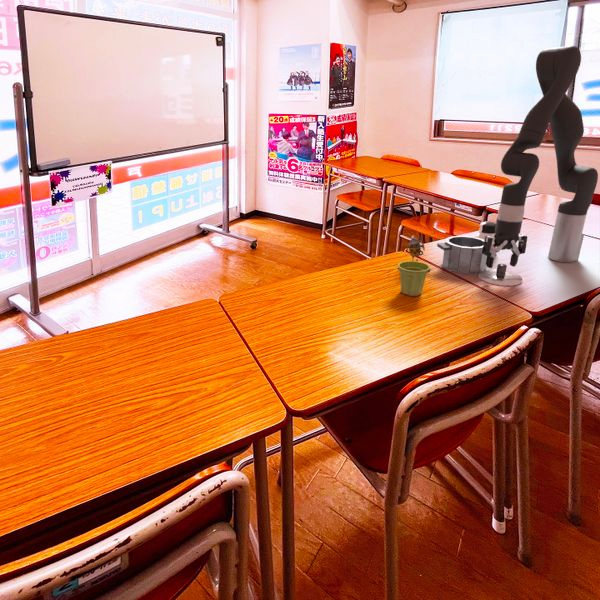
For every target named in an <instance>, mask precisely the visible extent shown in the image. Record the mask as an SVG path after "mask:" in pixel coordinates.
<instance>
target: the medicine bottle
mask: <svg viewBox="0 0 600 600" xmlns="http://www.w3.org/2000/svg"><path fill="white" fill-rule="evenodd" d="M495 227H496V222H493V221H483V222H480V224H479V230H478V233H477V235H475V236H474V237H476V238H480V239H483V240H485V237H486V236H489V237H494V236H495ZM493 243H494V241H493ZM495 248H497V246H496V247H495Z"/></svg>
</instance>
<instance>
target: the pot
mask: <svg viewBox="0 0 600 600" xmlns="http://www.w3.org/2000/svg"><path fill="white" fill-rule="evenodd" d="M444 241H445V242H439V243H438V242H437V243H436V247H438V248H439V249H441V250H442V251H443V258H442V265H441V267H443V268H444V269H446V270H447V271H451V272H453V273H457V274H458V273H459V274H466V275H468V274H469V275H470V274H471V275H473V274H479V272H481V271H484V270H486V267H487V265H486V260H487V256H486V255H485V254H483V253H482V249H483V245H484V240H483V239H480V238H476V237H475V236H471V235H469V236H467V235H454V236H452V235H450V236H448V237H446V238H445V240H444ZM492 244H493V243H492ZM491 246H492V245H491Z"/></svg>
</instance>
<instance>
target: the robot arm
mask: <svg viewBox="0 0 600 600" xmlns="http://www.w3.org/2000/svg"><path fill="white" fill-rule="evenodd" d="M581 62H582V53H581V51H580V48H579V47H577V46H575V45H565V46H559V47H556V46H555V47H550V48H545V49H543V50H541V51H540V52H539V53H538V54H537V57H536V61H535V73H536V77H537V81H538V84H539V86H540V90H541V93H542V98H541V99H540V100H538V102H537V103H536V104H535V105H533V107H532V108H531V109H530V110H529V111H528V113H527V115H526V116H525V118H524V121H523V123H522V126H520V127H521V128H520V130H519V132H518V135H517V137H516V138H515V139H514V141H513V143H512V144H511V145H510V147H509V148H508V149H507V151H506V153H505V154H504V156H502V160H501V163H500V170H501V172H502V174H504V175H507V176H511V177H518V178H520V179H519V181H518V182H514V183H513V182H512V183H506V184H505V185H504V186H503V187H502V188H503V189H502V193H501V199H500V204H499V208H498V211H497V216H496V221H495V224H496V227H495V236H494V237H489V236H486V237H485V240H484V245H483V249H482V253H483V254H485V255H486V256H487V260H486V268H489V269H493V266H494V260H495V255H497V253H499V252H500V251H504V250H510V251H511V256H510V262H509V265H510V266H511V267H517V265H518V260H519V257H520V255H523V254H525V253H526V250H527V249H526V248H527V245H528V244H527V241H528V236H527V235H525V234H523V233H521V231H522V224H523V219H524V216H525V206H526V205H525V204H526V199H527V197H528V196H527V194H528V191H529V188H530V186H531V184H532V183H533V180H534V178H535V175H536V174H537V172H538V170H539V166H540V159H539V157H538V155H537V154H535V153H532V152H525V151H527V150H533V149H536V148H539V147H540V146H541V145H542V142H543V140H544V137H545V136H546V133H547V130H548V128H549V127H550V128H549V129H550V132H551V137H552V140H553V147H554V151H555V152H554V153H555V157H556V167H557V180H558V181H557V182H558V185H559V187H560V189H561V190H562V191H564V192H566V193H572V194H574V196H573V199H572V200H569V201H563V202H561V203H559V204H558V207H557V208H558V209H557V213H556V218H555V221H554V222H555V223H554V226H553V232H552V236H551V241H550V245H549V251H548V255H547V257H548V259H550V260H553V261H555V262H558V263H559V262H560V263H574V262H576V261H579V258H580V254H581V249H582V245H583V241H584V237H585V235H584V234H583V230H584V227H585V223H586V217H587V214H588V211H589V208H590V206H591V205H592V201H593V198H594V194H595V190H596V189H597V188H596V187H597V185H598V180H599V173H598V170H597V169H596V168H595V167H591V166H584V165H578V164H577V163H576V158H575V152H576V150H577V149H576V148H577V147H578V146H579V144H580V142H581V140H582V139H583V136H584V131H585V129H584V127H585V126H584V122H583V121H584V120H583V116H582V112H581V109H580V108H579V107H578V105H577V104H576V103H575V102H574V101H573V99H571V98H570V96H568V94H567V91H568V90H569V88H570V86H571V84H572V83H573V81H574V80H575V78H576V75H577V74H578V72H579V69H580V67H581ZM493 241H494V243H493ZM492 243H493V244H492ZM517 243H518V245H517ZM491 245H492V246H491ZM496 246H497V248H495V247H496Z"/></svg>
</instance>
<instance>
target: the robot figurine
mask: <svg viewBox="0 0 600 600" xmlns="http://www.w3.org/2000/svg"><path fill="white" fill-rule="evenodd" d="M421 240H422V238H421V237H418V238H417V237H415V235H412V236H411V239H407V243H409V244H408V245H407V246H406V249H405V250H404V252H406V253H407V252H409V253H410V256H411V258H412V259H411V261H415V260H414V258H415V257H416V262H419V259H418V258H419V256H420V257H421V256H423V255H424V251H425V250H426V249H425V244H424V243H422V244H421V242H420V241H421ZM421 249H422V250H421ZM430 271H431V268H430V269H429V270H428V272H427V273H429V272H430Z"/></svg>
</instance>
